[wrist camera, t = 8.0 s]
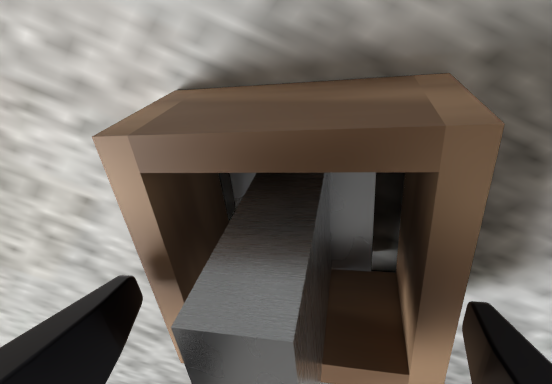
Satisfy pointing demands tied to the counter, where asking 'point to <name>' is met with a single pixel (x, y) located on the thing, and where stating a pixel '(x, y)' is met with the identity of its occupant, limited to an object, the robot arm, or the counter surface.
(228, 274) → the bracket
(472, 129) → the square frame
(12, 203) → the counter surface
